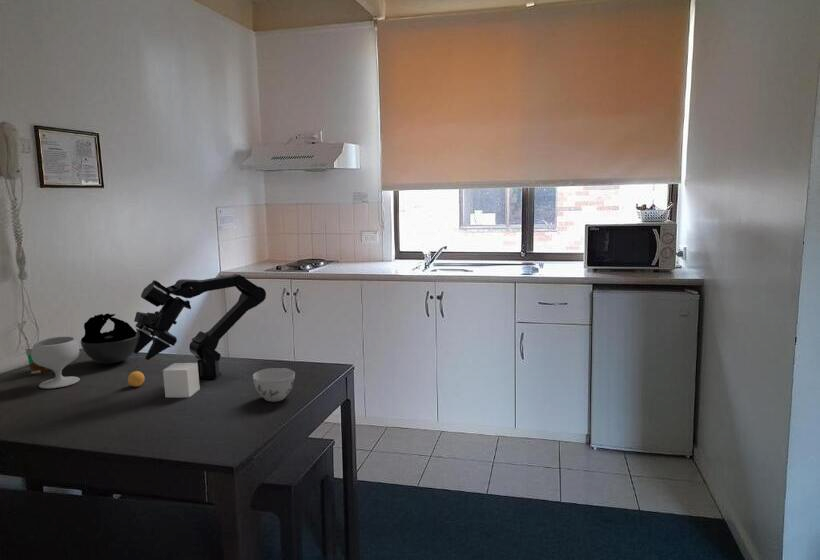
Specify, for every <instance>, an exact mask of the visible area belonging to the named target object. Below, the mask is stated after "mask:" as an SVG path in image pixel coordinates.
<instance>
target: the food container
mask: <svg viewBox="0 0 820 560" xmlns="http://www.w3.org/2000/svg"><path fill="white" fill-rule="evenodd" d="M31 353H32V348H26V350H25V355H26V356H27V359H28V364H29V370H30V374H31V376H40V375H46V374H49V373H52V371H53V370H51V369H49V368H46V367H43V366H39V365H37V364H35V363H34V362H33V360H32V357H31ZM53 372H54V371H53Z"/></svg>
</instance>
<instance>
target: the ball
mask: <svg viewBox="0 0 820 560" xmlns="http://www.w3.org/2000/svg"><path fill="white" fill-rule="evenodd" d="M127 382H128V384H129V385H130V386H132V387H134V388H135V387H140V386H141V385H142V384H144V383H145V375H144V373H143V372H141V371H139V370H134V371H133V372H131V373H130V374H129V375H128V377H127Z"/></svg>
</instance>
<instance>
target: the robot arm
mask: <svg viewBox="0 0 820 560" xmlns="http://www.w3.org/2000/svg"><path fill="white" fill-rule="evenodd" d="M234 287H235V288H236V289H237V290H238V292H240V294H239V298H238V300H237V302H236V303H235V304H234V305H233V306H232V307H231V308H230V309H229V310H228V311H227V312H226V313H225V314H224V315H223V316H222V317H221V318H220V319H219V320H218V321H217V322H216V323H215V324H214V325H213V326H212V327H211V328H210V329H209V330H208V331H206V332H203V331H201V330H200V331H199V332H198V333H197V334H196V335H195V336H194V337H193V338H191V339H190V340H191V342H190V343H189V352H190V353H191V354H192V355H193V356H195V359H197V360H196V361H197V362H196V363H198V375H199V381H201V380H216V379H217V378H219V377H220V376H221V375H222V374H223V373H222V372H220V360H221V356H222V355H221V353H219V352H218V351H217V350H216V349H217V348H218V345H219V342H220V340H221V339H222V338H223V337H224V335H226V334H227V333H228V331H229V330H230V329H231V328H233V326H234V325H235V324H236V323H237V322H238V321H239V320H240V319H241V318H242V317H243V316H244V315H245V314H246V313H247V312H248V311H250V310H251V309H254V308H256V307H257V306H259V305H261V304H262V303H263V302H264V301H265V300H266V299H267V293H266V289H264V288H263V287H261V286H257V285H256V284H255V283H253V282H252V281H250V280H249V279H248V278H246V277H245V276H244V275H242V274H238V273H234V274H232V275H225V276H218V277H213V278H206V279H189V278H187V279H182V278H181V279H177V280H176V282H175V283H174V284H172V285H170V286H167V287H166V286H165V285H162V284H161V283H160V282H159V281H157V280H155V279H154V280H152V282H151V283H149V284H148V285H147V286H146V287H144V288H143V290H142V292H141V295H140V297H141V298H142V299H143V300H145V301H147V302H148V303H150V304H151V305H153V306H155V308H156V307H160V306H162V307H161V308H160V309H159V311H157V310H156V311H154V313H153V312H148V311H147V313H146V312H140V311H136V312H135V316H134V322H135V323H136V324H135V326H134V327H135V331H136V332H137V333H138V338H137V342H136V345H135V348H134V352H133V353H134V354H138V353H139V352H141V351H142V350H143V349H144V348H145V347H146V346H148V345H149V344H150V343H151V342H152V344H151V345H150V347H149V348H148V351H147V353H146V355H145V357H144V359H145V360H147V361H149V360H151V359H152V358H154V357H155V356H157V355H159V354H160V353H161V352H164V351H165V350H167V349H168V348H171V346H172V347H174V346H175V345H176V343H177V342H178V340H177V337H176V336H175V335H173V334H171V332H169V330H170V329H171V328H172V326H173V325H175V326H176V325H177V323H178V322H177V321H176V320H177V318H178V317H179V315H180V314H181V313H182V311H183V309H184V308H185V309H188V310H191V309H192V307H191V302H190V300H187V299H192V298H194V297H198V296H200V295H202V294H203V293H205V292H206V293H207V292H210V291H217V290H223V289H229V288H234ZM171 295H174V296H175V297H173V296H171ZM182 298H185V299H186V300H184V299H182Z"/></svg>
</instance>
